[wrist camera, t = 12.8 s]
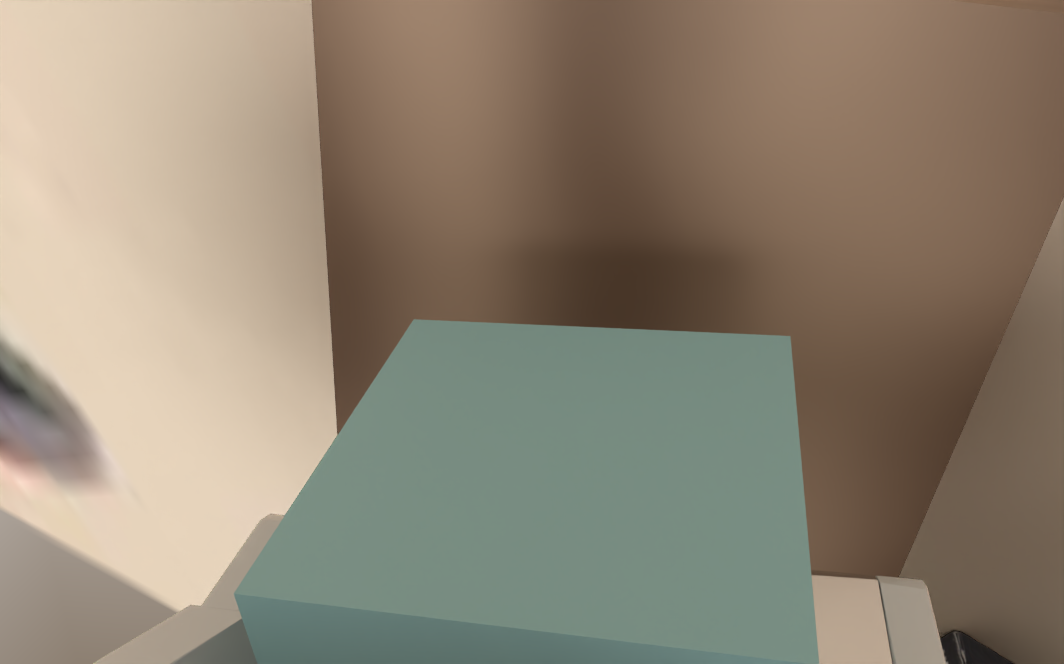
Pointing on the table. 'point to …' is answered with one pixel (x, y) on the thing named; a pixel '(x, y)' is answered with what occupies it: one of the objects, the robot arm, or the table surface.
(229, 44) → the table surface
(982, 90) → the walnut base block
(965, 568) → the table surface
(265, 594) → the teal cube
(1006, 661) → the small box
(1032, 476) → the table surface
